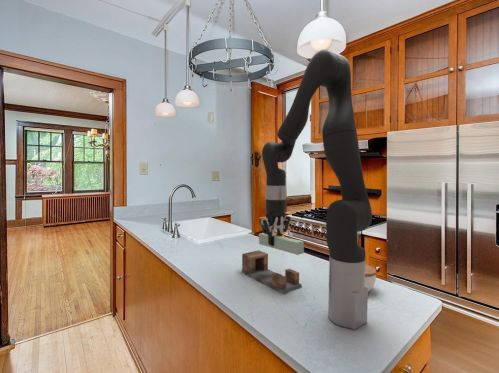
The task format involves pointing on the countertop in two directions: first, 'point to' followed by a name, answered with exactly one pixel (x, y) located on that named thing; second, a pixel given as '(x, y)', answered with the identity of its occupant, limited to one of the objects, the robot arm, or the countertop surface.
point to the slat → (283, 244)
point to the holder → (269, 273)
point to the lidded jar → (370, 276)
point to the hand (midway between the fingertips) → (275, 244)
